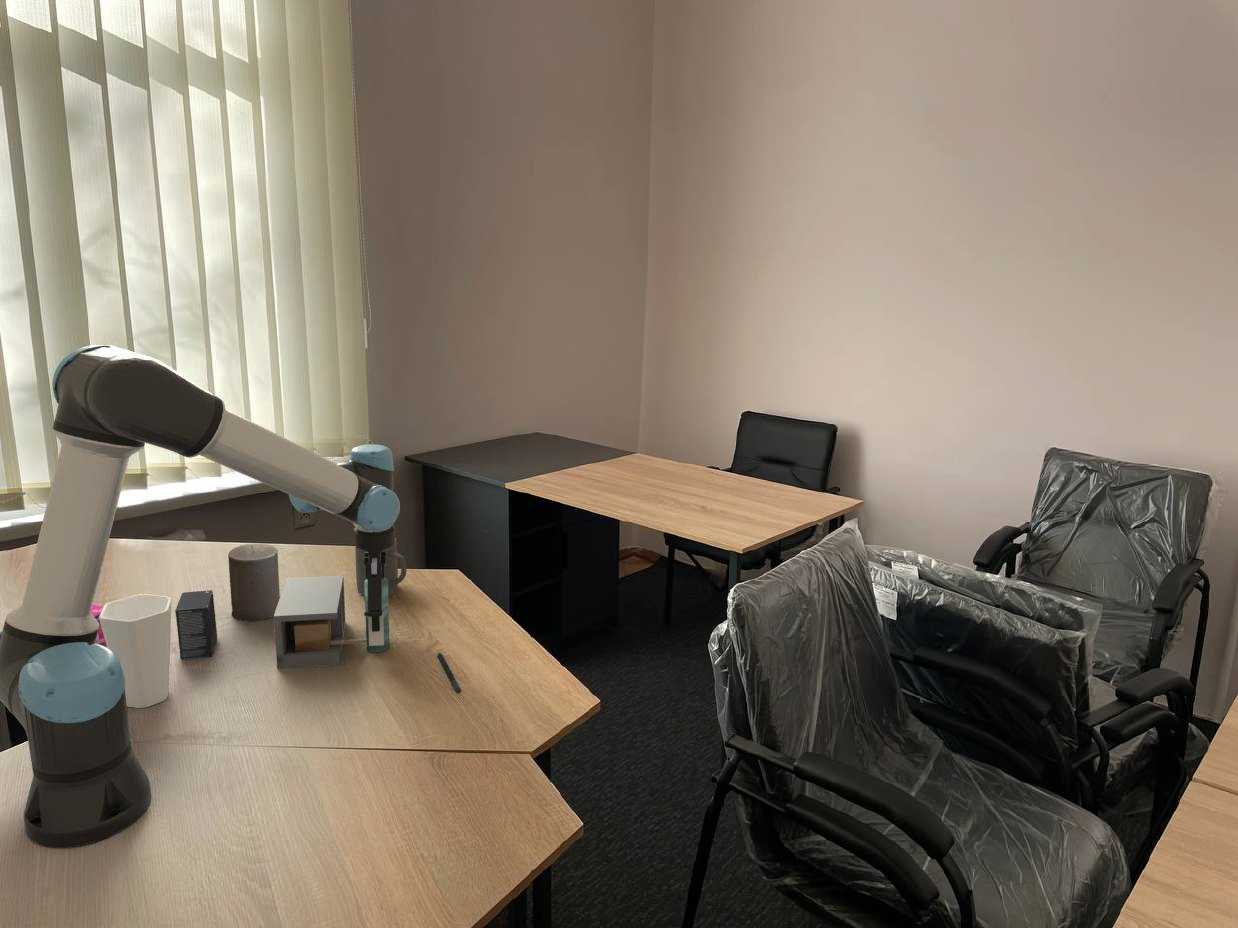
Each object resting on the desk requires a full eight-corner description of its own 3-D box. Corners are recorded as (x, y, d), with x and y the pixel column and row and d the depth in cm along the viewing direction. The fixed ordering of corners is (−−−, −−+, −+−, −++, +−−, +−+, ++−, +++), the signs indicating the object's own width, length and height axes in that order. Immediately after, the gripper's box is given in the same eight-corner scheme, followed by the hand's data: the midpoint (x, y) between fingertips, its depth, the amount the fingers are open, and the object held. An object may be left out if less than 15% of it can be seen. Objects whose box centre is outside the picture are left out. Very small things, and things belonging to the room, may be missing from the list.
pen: (440, 655, 170) (440, 649, 170) (461, 693, 157) (461, 688, 156) (435, 655, 170) (435, 650, 170) (455, 694, 156) (455, 689, 156)
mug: (348, 590, 196) (346, 541, 193) (378, 578, 204) (377, 530, 201) (391, 606, 189) (389, 555, 186) (420, 592, 197) (420, 543, 194)
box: (186, 641, 170) (181, 591, 167) (218, 638, 172) (213, 589, 169) (179, 660, 163) (174, 608, 160) (212, 657, 164) (208, 606, 162)
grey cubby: (338, 664, 164) (336, 612, 161) (277, 668, 161) (273, 616, 159) (345, 622, 181) (343, 575, 178) (289, 625, 178) (286, 577, 176)
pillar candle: (221, 617, 181) (216, 550, 177) (251, 598, 190) (247, 534, 186) (262, 624, 179) (258, 557, 174) (290, 605, 188) (287, 541, 184)
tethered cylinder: (389, 653, 169) (387, 586, 165) (296, 659, 165) (292, 591, 161) (390, 639, 175) (388, 574, 171) (299, 644, 171) (296, 578, 167)
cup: (118, 685, 153) (107, 596, 149) (182, 677, 157) (173, 590, 152) (106, 718, 143) (95, 624, 139) (175, 709, 147) (165, 617, 142)
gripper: (393, 547, 154) (396, 657, 160) (395, 505, 176) (398, 603, 182) (349, 549, 153) (354, 660, 158) (357, 506, 175) (361, 605, 181)
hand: (377, 630), depth 170 cm, fingers open, 11 cm apart
